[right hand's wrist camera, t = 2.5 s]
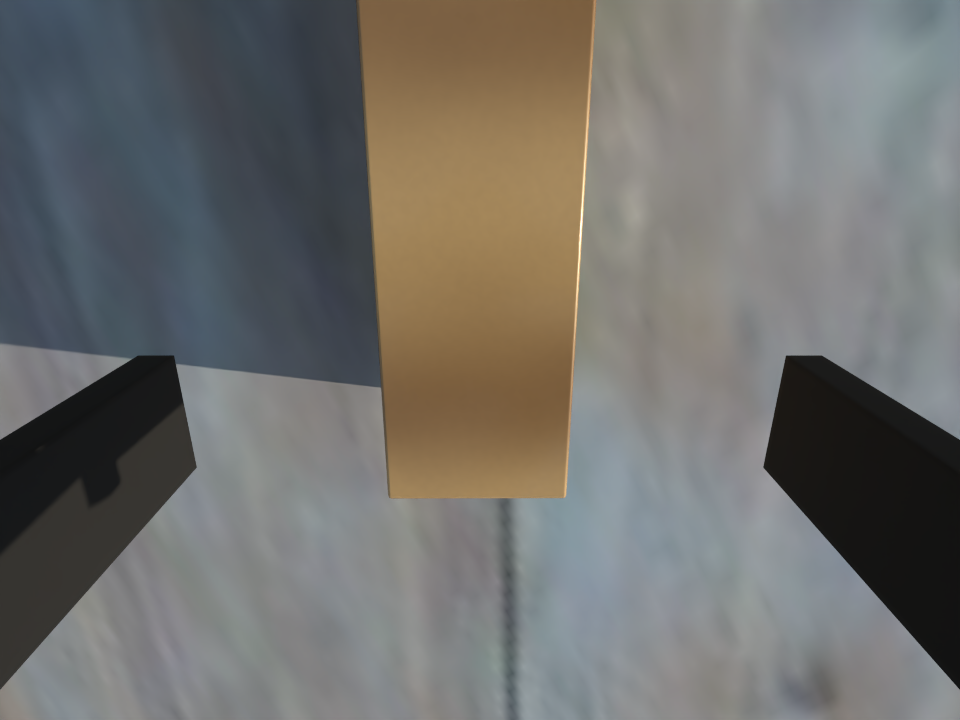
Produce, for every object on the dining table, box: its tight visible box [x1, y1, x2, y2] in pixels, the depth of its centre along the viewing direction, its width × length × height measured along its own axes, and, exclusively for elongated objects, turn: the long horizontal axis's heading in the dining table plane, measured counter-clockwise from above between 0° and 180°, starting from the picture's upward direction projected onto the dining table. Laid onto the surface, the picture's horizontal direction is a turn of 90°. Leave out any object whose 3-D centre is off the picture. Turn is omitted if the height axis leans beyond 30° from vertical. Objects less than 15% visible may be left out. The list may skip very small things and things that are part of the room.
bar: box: [356, 0, 596, 498], centre depth 16 cm, size 26×5×8 cm, turn 0°
